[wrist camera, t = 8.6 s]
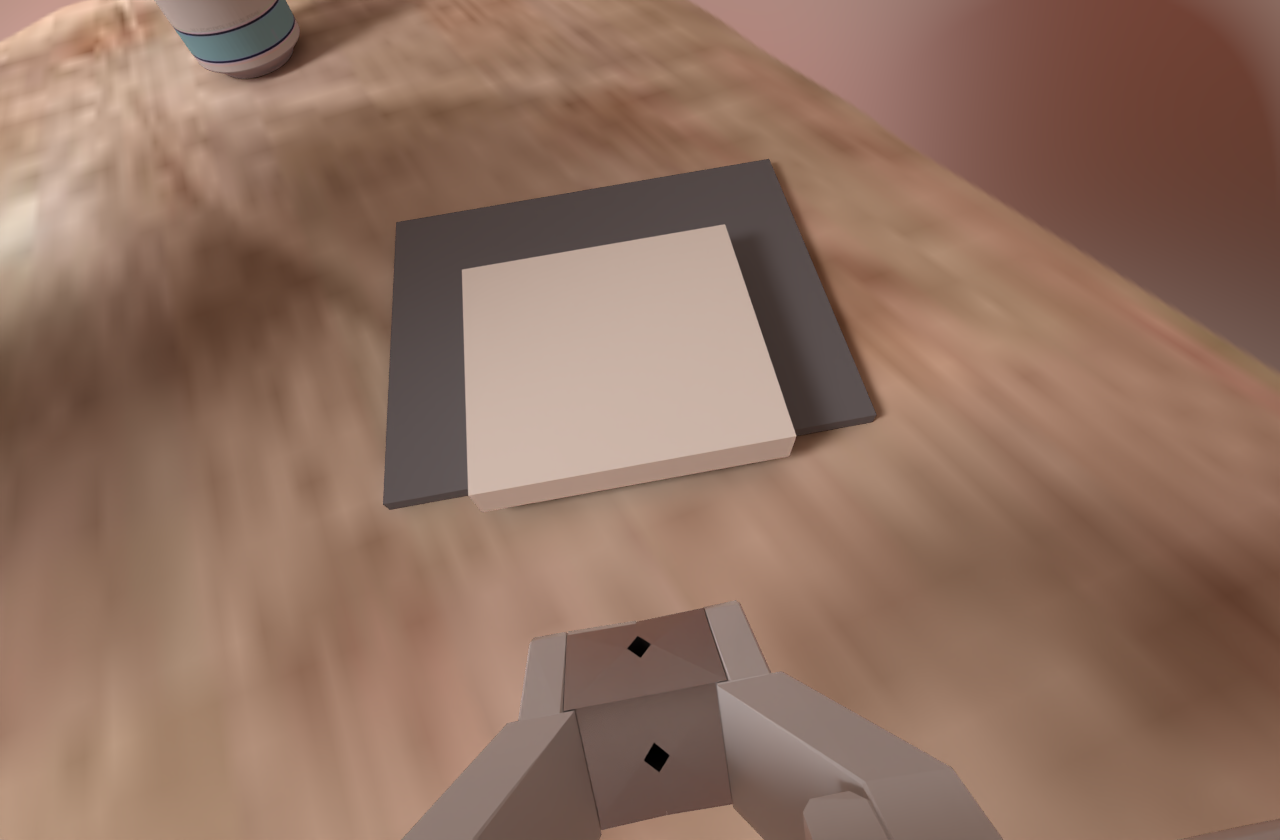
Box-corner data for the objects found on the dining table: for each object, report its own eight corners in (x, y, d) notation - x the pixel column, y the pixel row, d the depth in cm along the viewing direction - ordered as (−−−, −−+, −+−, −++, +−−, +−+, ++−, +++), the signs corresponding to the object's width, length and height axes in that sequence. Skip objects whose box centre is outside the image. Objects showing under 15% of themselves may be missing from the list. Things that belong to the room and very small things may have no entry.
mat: (872, 422, 25) (876, 414, 24) (389, 509, 24) (383, 504, 24) (767, 168, 32) (769, 158, 32) (401, 231, 32) (396, 222, 31)
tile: (796, 436, 22) (724, 224, 27) (468, 495, 21) (462, 269, 27) (788, 459, 23) (722, 256, 29) (484, 514, 23) (475, 299, 29)
